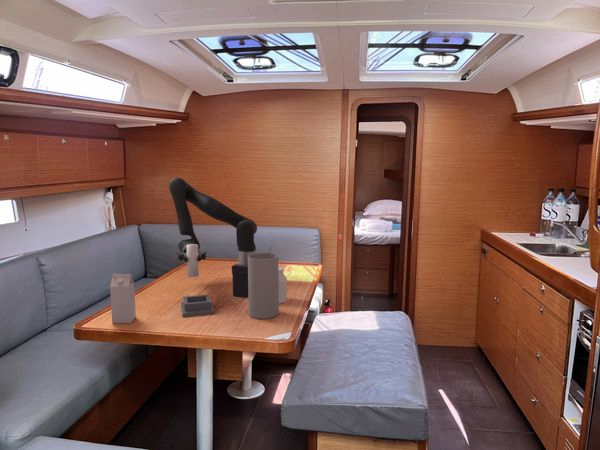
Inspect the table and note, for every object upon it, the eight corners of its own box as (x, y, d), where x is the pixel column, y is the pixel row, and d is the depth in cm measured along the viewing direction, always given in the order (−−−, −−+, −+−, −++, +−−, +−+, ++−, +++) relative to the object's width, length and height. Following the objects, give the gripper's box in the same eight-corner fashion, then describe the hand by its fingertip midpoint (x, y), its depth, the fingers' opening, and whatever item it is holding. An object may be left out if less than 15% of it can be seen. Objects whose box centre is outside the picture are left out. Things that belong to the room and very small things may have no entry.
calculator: (257, 296, 207) (256, 265, 205) (253, 298, 203) (252, 267, 201) (236, 294, 211) (235, 263, 209) (232, 296, 207) (231, 265, 205)
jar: (260, 303, 197) (259, 270, 195) (263, 296, 207) (263, 265, 205) (285, 304, 196) (285, 271, 194) (288, 297, 206) (288, 266, 204)
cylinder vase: (281, 318, 178) (281, 258, 175) (251, 321, 175) (250, 260, 171) (274, 308, 190) (274, 252, 187) (246, 311, 187) (245, 253, 183)
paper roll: (198, 273, 201) (197, 243, 199) (199, 276, 197) (198, 245, 195) (187, 274, 200) (186, 244, 198) (187, 277, 195) (186, 246, 193)
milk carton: (118, 317, 179) (115, 272, 176) (135, 317, 179) (133, 272, 177) (112, 323, 172) (109, 276, 169) (130, 323, 172) (128, 276, 170)
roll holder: (210, 302, 198) (210, 292, 198) (214, 313, 183) (214, 303, 183) (180, 305, 195) (180, 295, 194) (182, 317, 179) (182, 306, 179)
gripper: (175, 245, 208) (175, 252, 192) (205, 243, 212) (209, 250, 196) (175, 260, 209) (176, 268, 193) (206, 258, 213) (209, 266, 197)
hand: (192, 259), depth 195 cm, fingers closed on paper roll, 5 cm apart
